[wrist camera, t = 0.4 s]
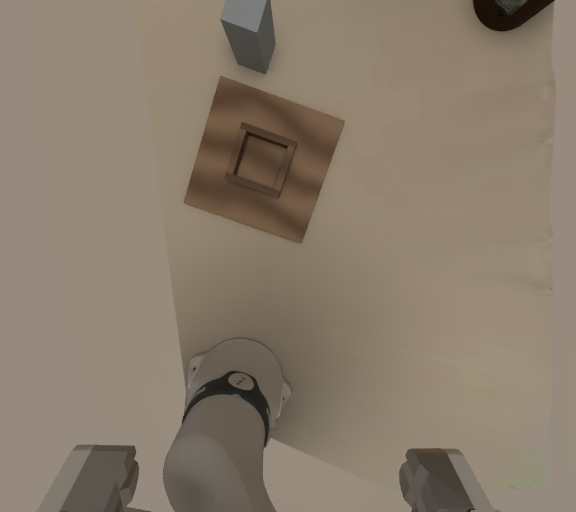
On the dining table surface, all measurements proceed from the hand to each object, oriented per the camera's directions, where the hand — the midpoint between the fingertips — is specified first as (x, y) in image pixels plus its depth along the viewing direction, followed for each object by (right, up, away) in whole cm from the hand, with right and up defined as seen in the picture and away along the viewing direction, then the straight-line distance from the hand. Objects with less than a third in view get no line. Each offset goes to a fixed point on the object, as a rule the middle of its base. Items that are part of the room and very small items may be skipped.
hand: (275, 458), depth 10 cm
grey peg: (-4, +37, +39) cm, 54 cm away
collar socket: (-4, +21, +42) cm, 47 cm away
